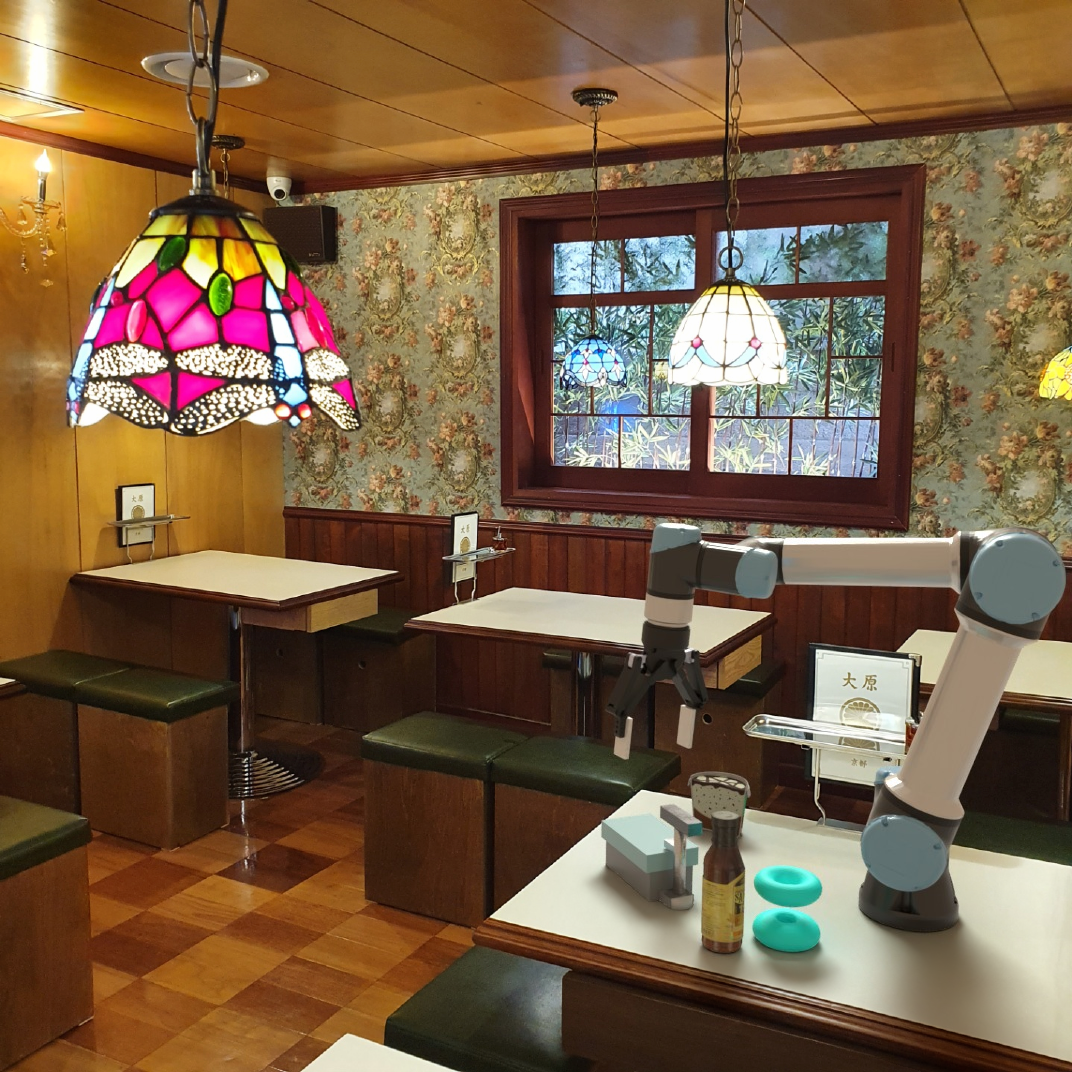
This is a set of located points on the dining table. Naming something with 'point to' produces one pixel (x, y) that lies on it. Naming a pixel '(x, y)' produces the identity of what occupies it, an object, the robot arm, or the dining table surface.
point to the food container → (718, 796)
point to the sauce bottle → (723, 887)
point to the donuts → (786, 924)
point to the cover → (645, 842)
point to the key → (679, 841)
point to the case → (651, 881)
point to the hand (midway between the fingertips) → (653, 751)
